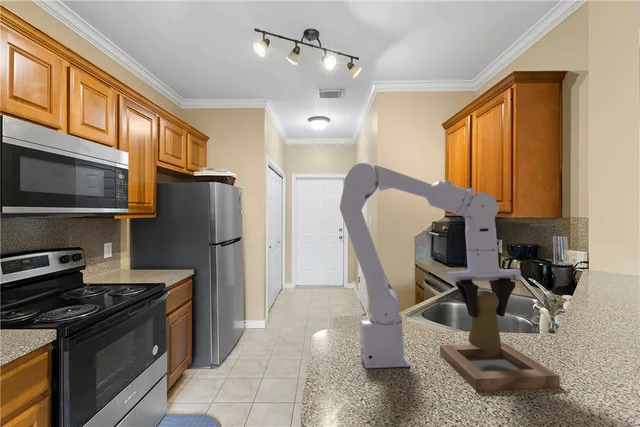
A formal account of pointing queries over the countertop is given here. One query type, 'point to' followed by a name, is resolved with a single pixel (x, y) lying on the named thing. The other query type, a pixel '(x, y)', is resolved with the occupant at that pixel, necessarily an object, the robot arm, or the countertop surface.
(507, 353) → the holder
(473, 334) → the cork
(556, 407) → the countertop surface
